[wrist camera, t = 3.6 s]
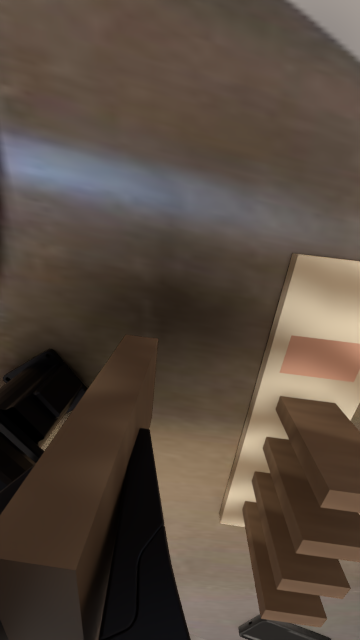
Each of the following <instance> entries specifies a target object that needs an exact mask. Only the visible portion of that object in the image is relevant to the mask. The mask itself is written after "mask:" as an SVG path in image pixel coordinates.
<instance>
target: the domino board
mask: <svg viewBox="0 0 360 640" xmlns="http://www.w3.org/2000/svg"><path fill="white" fill-rule="evenodd" d="M280 396H285V397H292V398H300V399H308V400H316V401H323V402H331V403H336V404H337V406H338V407H339V408H340V409H341V410H342V412H343V413H344V414H345V415H346V416H347V418H348V419H349V420H350V421H351V419H352V417H353V415H354V413H355V411H356V409H357V407H358V405H359V403H360V261H354V260H345V259H337V258H329V257H320V256H312V255H303V254H295V253H293V254H292V257H291V261H290V264H289V268H288V271H287V275H286V279H285V282H284V286H283V289H282V293H281V296H280V300H279V303H278V307H277V311H276V314H275V318H274V321H273V325H272V328H271V332H270V335H269V339H268V343H267V346H266V350H265V353H264V357H263V360H262V364H261V368H260V371H259V375H258V378H257V382H256V385H255V389H254V392H253V396H252V400H251V403H250V407H249V410H248V414H247V417H246V421H245V424H244V428H243V432H242V435H241V439H240V442H239V446H238V449H237V453H236V456H235V460H234V464H233V467H232V471H231V474H230V478H229V481H228V485H227V489H226V492H225V496H224V499H223V503H222V506H221V510H220V513H219V515H220V523H221V524H228V525H235V526H242V527H245V523H244V518H243V512H242V508H243V505H244V502H245V501H250V502H256V498H255V494H254V490H253V485H252V478H253V475H254V472H255V471H257V472H265V473H270V470H269V467H268V464H267V461H266V458H265V454H264V451H263V445H264V442H265V439H266V437H273V438H281V439H288V440H289V438H288V436H287V434H286V432H285V429H284V427H283V425H282V423H281V421H280V419H279V416H278V414H277V412H276V410H275V409H276V406H277V403H278V400H279V397H280Z"/></svg>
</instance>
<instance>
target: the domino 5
mask: <svg viewBox="0 0 360 640" xmlns="http://www.w3.org/2000/svg"><path fill="white" fill-rule="evenodd" d="M242 512H243V518H244V523H245V529H246V535H247V541H248V546H249V552H250V558H251V564H252V570H253V575H254V581H255V587H256V593H257V599H258V604H259V610H260V616H261V619H267V620H274V621H281V622H288V623H294V624H301V625H308V626H315V627H321V626H322V625H323V624H324V622H325V621H326V620H327V617H326V614H325V611H324V608H323V605H322V602H321V599H320V596H319V595H312V594H305V593H298V592H291V591H284V590H278V589H276V585H275V580H274V576H273V572H272V567H271V563H270V559H269V555H268V550H267V546H266V542H265V537H264V533H263V529H262V524H261V520H260V516H259V511H258V507H257V503H256V502H250V501H245V502H244V505H243V508H242Z"/></svg>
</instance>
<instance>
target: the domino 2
mask: <svg viewBox="0 0 360 640" xmlns="http://www.w3.org/2000/svg"><path fill="white" fill-rule="evenodd" d="M275 410H276V412H277V414H278V416H279V419H280V421H281V423H282V425H283V427H284V429H285V432H286V434H287V436H288V438H289V440H290V442H291V445H292V447H293V449H294V451H295V453H296V456H297V458H298V460H299V462H300V464H301V466H302V469H303V471H304V473H305V475H306V477H307V479H308V482H309V484H310V486H311V488H312V490H313V492H314V495H315V497H316V499H317V501H318V503H319V505H320V507H322V508H329V509H337V510H344V511H351V512H358V513H360V432H359V431H358V429H357V428H356V427H355V426H354V425H353V423H352V422H351V421H350V420H349V419H348V418H347V416H346V415H345V414H344V413H343V412H342V410H341V409H340V408H339V407H338V406H337V404H336V403H331V402H323V401H316V400H308V399H300V398H292V397H285V396H280V397H279V400H278V403H277V406H276V409H275Z"/></svg>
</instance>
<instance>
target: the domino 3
mask: <svg viewBox="0 0 360 640" xmlns="http://www.w3.org/2000/svg"><path fill="white" fill-rule="evenodd" d="M263 451H264V454H265V458H266V461H267V464H268V467H269V470H270V473H271V477H272V480H273V483H274V486H275V489H276V492H277V495H278V499H279V502H280V505H281V508H282V511H283V514H284V517H285V521H286V524H287V527H288V530H289V533H290V536H291V539H292V543H293V546H294V549H295V552H296V553H298V554H305V555H312V556H319V557H326V558H333V559H340V560H347V561H355V562H360V515H359V514H358V512H351V511H344V510H337V509H329V508H322V507H320V505H319V503H318V501H317V499H316V497H315V495H314V492H313V490H312V488H311V486H310V484H309V482H308V479H307V477H306V475H305V473H304V471H303V469H302V466H301V464H300V462H299V460H298V458H297V456H296V453H295V451H294V449H293V447H292V445H291V442H290V440H288V439H281V438H273V437H266V439H265V442H264V445H263Z"/></svg>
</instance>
